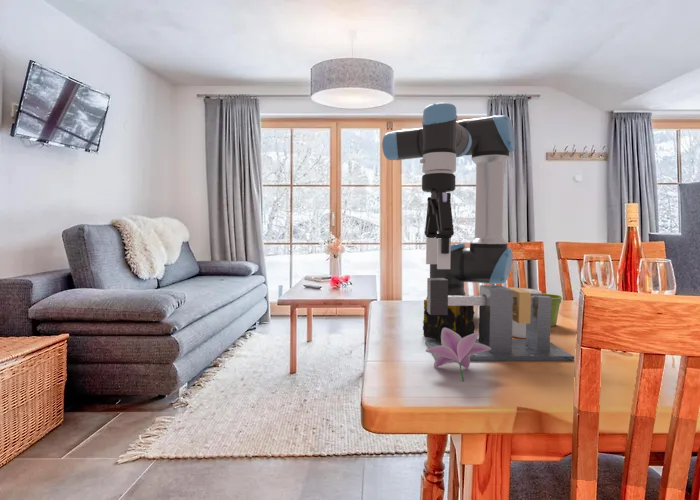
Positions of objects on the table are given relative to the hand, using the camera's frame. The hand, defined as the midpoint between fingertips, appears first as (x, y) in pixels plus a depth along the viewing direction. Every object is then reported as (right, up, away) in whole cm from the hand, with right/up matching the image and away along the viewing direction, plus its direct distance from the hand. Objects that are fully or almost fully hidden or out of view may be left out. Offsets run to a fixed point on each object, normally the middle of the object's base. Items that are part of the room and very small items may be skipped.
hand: (437, 266), depth 98 cm
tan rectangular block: (+19, -12, +1) cm, 23 cm away
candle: (+6, -20, +15) cm, 26 cm away
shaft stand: (+14, -20, +1) cm, 24 cm away
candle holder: (+26, -19, +17) cm, 37 cm away
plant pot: (+38, -19, +29) cm, 52 cm away
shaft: (+11, -11, +1) cm, 16 cm away
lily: (+1, -21, -14) cm, 25 cm away
